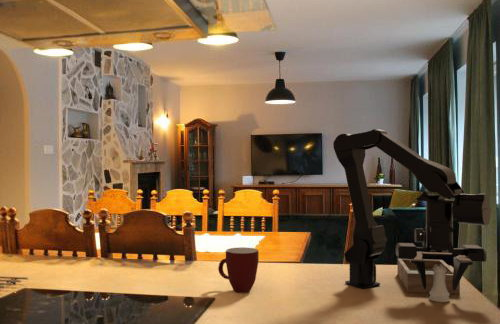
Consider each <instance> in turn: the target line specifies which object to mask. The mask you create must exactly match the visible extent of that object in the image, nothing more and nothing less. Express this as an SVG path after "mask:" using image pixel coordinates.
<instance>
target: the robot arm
mask: <svg viewBox="0 0 500 324" xmlns="http://www.w3.org/2000/svg"><path fill="white" fill-rule="evenodd" d="M332 145H333V146H332V147H333V151H334V153H335V156H336V159H337V160H338V162H339V163H340V164H341V166H342V167H343V168H344V173H345V174H344V175H345V178H346V183H347V188H348V193H349V199H350V203H351V207H352V213H353V217H354V227H353V230H352V246H350V248H349V249H347V250H346V252H344V253H343V254H344V259H345V261H346V263H349V280H345V282H344V284H347V285H350V286H353V287H358V288H360V289H367V288H372V287H377V286H378V287H379V286H381V283H380V282H377V265H376V260H379V259H380V256H381V254H382V253H383V252H384V250H385V249H386V246H387V245H386V242H388V238H387V236H386V231H385V227H384V225H383V224H382V225H379V224H378V223H377V222H376V220H375V217H374V214H373V209H372V203H371V199H370V194H369V189H368V184H367V180H366V174H365V170H364V163H365V158H366V150H371V149H373V148H377V149H379V150H380V151H381V152H383V153H384V154H386V155H387V156H389V157H390V158H392V159H393V160H394V161H396V162H398V163H399V164H400V165H401V166H403V167H404V168H406V169H407V170H408V171H410V172H411V174H412V175H413V176H414V178H415V180H416V181H417V182H419V184H420V185H421V186H422V187H424V189H425V190H424V191H423V192H422V193H421V194H420V195H419V196H418V197H416V201H417V202H425V231H424V228H419V227H417V228H414V234H413V235H414V236H413V237H414V242H415V243H422V246H417V245H415V244H414V243H413V242H411V243H410V242H398V243H397V244H396V245H395V255H396V257H397V259H409V261H410V262H411V263H414V264H415V266H416V268H417V270H418V273H419V276H420V279H421V282H422V285H423V288H424V289H426V272H425V261H424V260H423V259H424V258H423V256H427V257H428V256H432V257H433V256H435V257H453V270H454V271H453V281H452V285H453V290H454V291H455V290H456V288H457V286H458V284H459V282H460V281H461V279H462V278H463V275H464V274H465V272H466V271H467V269H468V267H470V266H474V262H483V263H484V262H485V263H486V262H487V251H486V250H485V249H484V248H483V247H481V246H480V245H479V244H478V245H477V244H461V246H460V247H459V248H458V247H456V248H455V247H454V238H453V237H454V235H453V234H454V233H455V232H454V224H453V222H454V220H456V221H457V223H458V224H463V225H464V224H465V225H473V226H474V225H476V226H485V227H486V226H489V224H490V220H491V215H492V210H491V208H490V202H489V199H488V195H487V193H476V194H475V193H474V194H473V193H472V194H471V193H466V192H465V190H464V189H463V188H462V186H460V184H459V182H458V181H457V177H456V173H455V171H453V170H452V168H449V167H448V166H445V165H442V164H440V163H438V162H436V161H432V160H430V159H427V158H424V157H423V156H421V155H420V154H419V153H417V152H416V151H414V150H412V149H411V148H410V147H408V146H406V145H405V144H404V143H402V142H401V141H399V140H397V139H396V138H394V137H393V136H391V134H389V133H388V132H387V131H386V130H384V129H377V128H376V129H374V128H373V129H371V130H367V131H364V132H363V131H362V132H358V133H353V134H351V133H341V134H338V135H337V136H336V137H335V139H334V140H333V142H332ZM432 193H437V194H432ZM460 283H461V282H460Z"/></svg>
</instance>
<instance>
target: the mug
mask: <svg viewBox="0 0 500 324" xmlns="http://www.w3.org/2000/svg"><path fill="white" fill-rule="evenodd" d="M259 254H260V253H259V249H258V248H254V247H245V246H244V247H241V246H240V247H231V248H228V249H226V250H225V258H223V259H221V261H220V262H219V264H218V269H217V270H218V273H219V276H221V277H222V278H223V279H226V280H228V281H229V284H230V286H231V288H232V289H233V292H235V293H239V294H246V293H249V292H250V291H251V290H252V288H253V287H254V284H255V282H256V279H257V272H258V265H259V258H260V257H259ZM224 265H226V271H227V274H226V273H225V272H224Z"/></svg>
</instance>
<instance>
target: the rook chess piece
mask: <svg viewBox="0 0 500 324" xmlns="http://www.w3.org/2000/svg"><path fill="white" fill-rule="evenodd" d="M432 270H433V272H434V275H433V277H434V281H433V287H432V288H431V289H432V290H431V291H430V292H429V295H430V296H429V297H428V298H429V299H430V301H432V302H435V303H445V304H446V303H448V302H449V301H450V300H451V299H450V294H449V293H448V292H447V289H446V284H445V277H446V276H445V272H446V271H447V269H446V268H445V265H443V266H442V264H439V266H438V264H435V265H433V268H432Z"/></svg>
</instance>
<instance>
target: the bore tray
mask: <svg viewBox="0 0 500 324" xmlns="http://www.w3.org/2000/svg"><path fill="white" fill-rule="evenodd" d="M422 259H423V260H424V261H425V272H426V289H424V288H423V285H422V282H421V279H420V276H419V273H418V270H417V268H416V266H415V264H414V263H411V262H410V261H409V259H400V258H397V276H398V278H399V280H400V282H401V283H402V284H403V286H404V288H405V289H406V292H408V293H426V294H427V293H429V292H430V291H431V290H432V289H431V288H432V287H433V281H434V277H433V275H434V272H433V270H432V268H433V265H435V264H438V266H439V264H442V266H443V265H445V268H446V269H447V271H446V272H445V276H446V277H445V284H446V289H447V292H448V293H449V295H461V291H460V290H461V289H460V288H461V282H459V284H458V286H457V288H456V290H455V291H454V290H453V285H452V281H453V271H454V268H452V267H451V266H450V265H449V264H447V263H446V262H445V261H444V260H443V259H428V258H427V259H425V258H422Z"/></svg>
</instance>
